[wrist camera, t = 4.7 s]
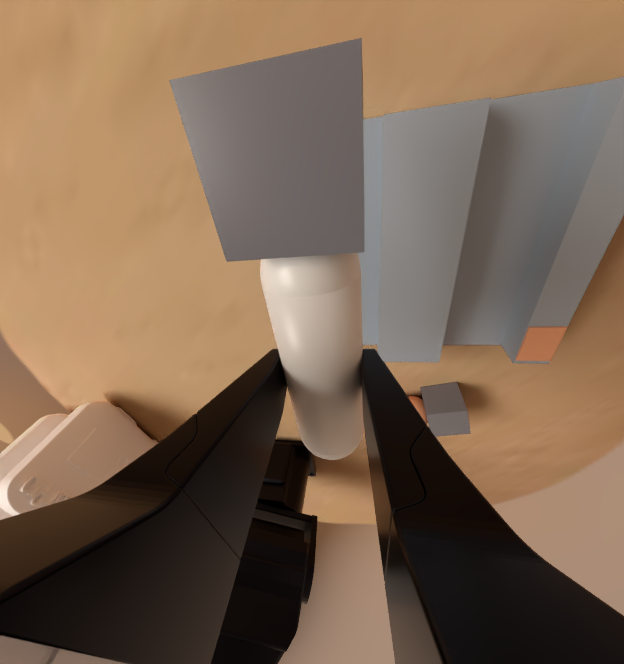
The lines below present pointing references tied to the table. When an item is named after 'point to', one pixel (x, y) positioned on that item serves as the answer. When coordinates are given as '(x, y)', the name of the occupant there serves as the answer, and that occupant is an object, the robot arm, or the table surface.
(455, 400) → the orange-handled mallet
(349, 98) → the white-handled mallet
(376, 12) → the table surface
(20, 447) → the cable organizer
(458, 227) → the ribbed grooved tray
